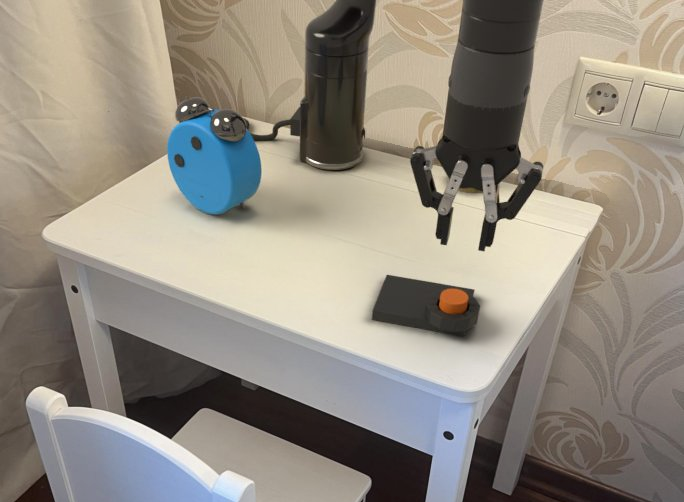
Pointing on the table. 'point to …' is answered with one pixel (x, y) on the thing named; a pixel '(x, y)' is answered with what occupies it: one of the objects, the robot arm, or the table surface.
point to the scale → (422, 306)
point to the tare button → (453, 301)
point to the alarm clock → (213, 157)
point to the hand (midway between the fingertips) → (463, 243)
